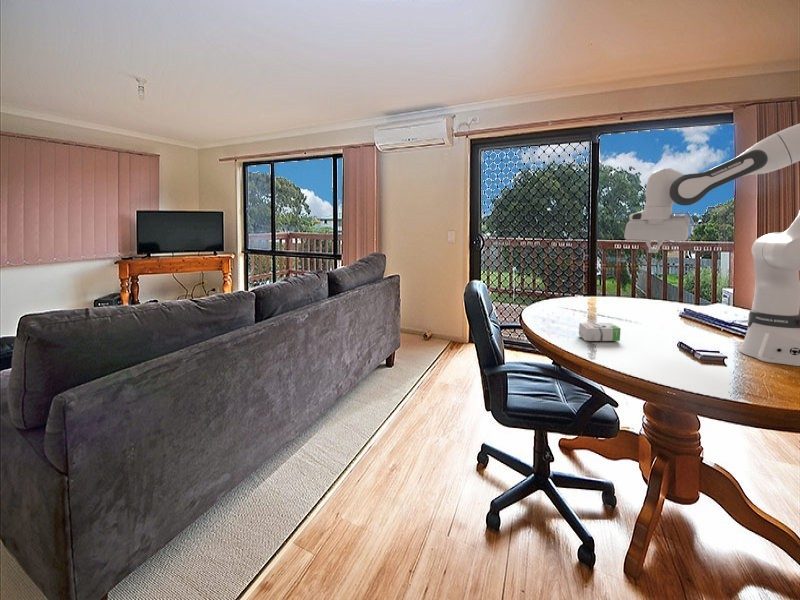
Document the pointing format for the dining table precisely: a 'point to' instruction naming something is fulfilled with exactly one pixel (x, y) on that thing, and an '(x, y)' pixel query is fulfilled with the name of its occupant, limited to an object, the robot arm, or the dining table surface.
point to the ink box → (599, 332)
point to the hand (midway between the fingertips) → (653, 252)
